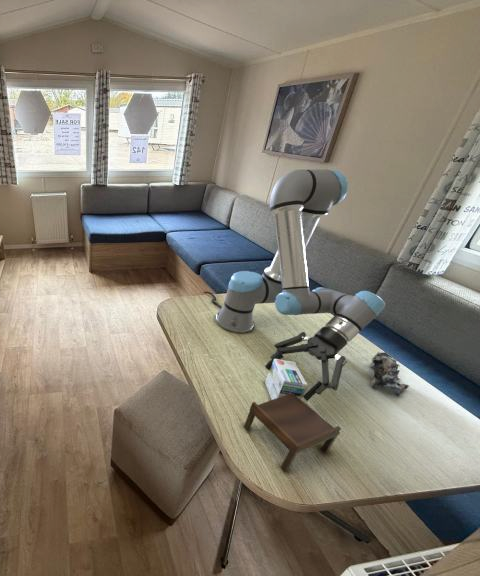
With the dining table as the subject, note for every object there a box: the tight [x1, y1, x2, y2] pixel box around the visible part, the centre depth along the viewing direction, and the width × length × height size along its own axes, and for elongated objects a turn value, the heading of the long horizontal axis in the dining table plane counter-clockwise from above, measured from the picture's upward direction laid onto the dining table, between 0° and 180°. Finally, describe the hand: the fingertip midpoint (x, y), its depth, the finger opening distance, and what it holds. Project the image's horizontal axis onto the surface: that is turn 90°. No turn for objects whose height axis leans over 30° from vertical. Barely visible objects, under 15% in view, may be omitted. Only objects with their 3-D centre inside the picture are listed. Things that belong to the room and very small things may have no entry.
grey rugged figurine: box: [370, 351, 410, 397], centre depth 105 cm, size 12×11×15 cm
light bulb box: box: [264, 359, 309, 401], centre depth 97 cm, size 11×7×11 cm, turn 168°
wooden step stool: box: [243, 393, 342, 473], centre depth 83 cm, size 14×16×10 cm
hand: (284, 382), depth 96 cm, fingers open, 13 cm apart
